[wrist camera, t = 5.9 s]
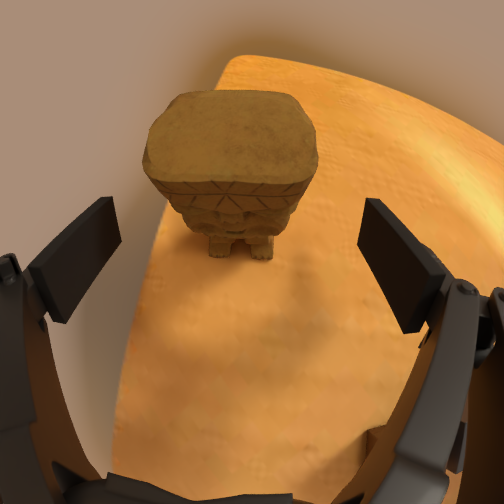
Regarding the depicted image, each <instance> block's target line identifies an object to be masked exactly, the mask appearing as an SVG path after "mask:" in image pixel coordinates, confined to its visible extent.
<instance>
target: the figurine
mask: <svg viewBox="0 0 504 504" xmlns="http://www.w3.org/2000/svg"><path fill="white" fill-rule="evenodd" d="M142 165H143V169H144V172H145V173H146V175H147V176H148V177H149V179H150V180H151V182H152V183H153V184H154V185H155V187H156V188H157V189H158V191H159V192H160V193H161V194H162V195H163V196H165V197H166V198H167V199H168V200H169V202H170V203H171V206H172V207H173V208H174V209H175V211H176V212H178V213H181V214H182V216H183V220H184V221H185V223H186V224H187V226H188V227H189V228H190V229H191V230H192V231H193V232H196V233H203V234H205V235H207V236H210V243H209V256H210V257H215V258H224V257H229V256H230V249H231V243H234V242H235V239H244V241H245V243H246V244H250V246H251V255H252V258H253V259H262V260H268V259H272V258H273V239H274V236H276V235H279V234H280V233H281V232H282V231H283V230H284V229H285V228H286V226H287V224H288V221H289V218H290V214H292V213H293V212H294V211H295V210H296V208H297V205H298V203H299V201H300V199H301V197H302V196H303V194H304V193H305V191H306V189H307V187H308V185H309V184H310V182H311V180H312V178H313V176H314V174H315V172H316V170H317V167H318V152H317V146H316V131H315V128H314V126H313V124H312V121H311V120H310V119H309V117H308V116H307V115H306V113H305V112H304V110H303V108H302V107H301V105H300V104H299V102H298V101H297V100H296V99H295V98H294V97H292V96H291V95H289V94H285V93H280V92H272V91H258V90H210V91H195V92H188V93H184V94H180V95H178V96H177V97H176V98H175V99H174V100H172V101H171V103H170V104H169V106H168V107H167V109H166V110H165V112H164V113H163V114H161V115H160V116H159V117H158V118H157V119H156V120H155V121H154V123H153V124H152V126H151V128H150V129H149V134H148V140H147V143H146V147H145V151H144V155H143V160H142Z"/></svg>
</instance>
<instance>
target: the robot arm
mask: <svg viewBox="0 0 504 504" xmlns="http://www.w3.org/2000/svg"><path fill="white" fill-rule="evenodd" d="M121 242H122V240H121V236H120V231H119V227H118V222H117V217H116V212H115V207H114V202H113V197H112V196H111V197H101V198H99V199H98V200H97V201H96V202H94V203H93V204H92V205H91V206H90V207H88V208H87V209H86V210H85V211H84V212H83V213H82V214H80V215H79V216H78V217H77V218H76V219H75V220H74V221H73V222H71V223H70V224H69V225H68V226H67V227H66V228H65V229H64V230H63V231H62V232H61V233H60V234H59V235H58V236H56V237H55V238H54V239H53V240H52V241H51V242H50V243H49V244H48V245H47V246H46V247H45V248H44V249H43V250H42V251H41V252H40V253H39V254H38V255H37V257H36V258H35V259H34V260H33V261H32V262H31V263H30V264H29V265H28V266H27V268H26V269H25V270H24V271H23V272H22V271H21V268H20V266H19V264H18V261H17V258H16V256H15V254H13V253H9V254H6V255H3V256H1V257H0V504H313V503H310V502H306V501H302V500H296V499H293V495H292V493H288V494H243V495H237V496H232V497H225V498H218V499H211V500H202V501H192V500H188V499H186V498H183V497H180V496H178V495H175V494H173V493H170V492H168V491H166V490H163V489H161V488H159V487H156V486H154V485H152V484H150V483H148V482H143V481H139V480H135V479H131V478H127V477H124V476H120V475H116V474H113V473H110V472H108V474H107V478H106V479H102V478H101V477H100V475H99V474H98V472H97V471H96V470H95V468H94V467H93V466H92V465H91V464H90V462H89V461H88V459H87V458H86V456H85V453H84V451H83V449H82V446H81V444H80V441H79V439H78V437H77V434H76V432H75V429H74V426H73V423H72V420H71V418H70V415H69V412H68V409H67V406H66V403H65V399H64V396H63V393H62V389H61V386H60V382H59V378H58V375H57V371H56V367H55V362H54V359H53V353H52V349H51V344H50V338H49V334H48V327H47V323H46V320H45V319H44V317H43V316H44V315H45V314H46V312H47V311H48V313H49V315H50V317H51V319H52V320H53V322H58V323H63V324H66V323H67V322H68V320H69V318H70V317H71V315H72V313H73V312H74V310H75V309H76V307H77V305H78V304H79V302H80V301H81V299H82V298H83V296H84V295H85V293H86V291H87V290H88V289H89V287H90V286H91V284H92V282H93V281H94V280H95V278H96V277H97V275H98V274H99V272H100V271H101V270H102V268H103V267H104V265H105V264H106V262H107V261H108V260H109V258H110V257H111V256H112V254H113V253H114V251H115V250H116V249H117V247H118V246H119V245H120V243H121ZM357 246H358V247H359V249H360V251H361V253H362V254H363V256H364V258H365V260H366V262H367V263H368V265H369V267H370V269H371V271H372V272H373V274H374V276H375V278H376V280H377V282H378V284H379V286H380V287H381V289H382V291H383V293H384V295H385V297H386V299H387V301H388V303H389V305H390V307H391V309H392V311H393V313H394V315H395V317H396V319H397V321H398V324H399V326H400V328H401V330H402V332H403V334H409V333H417V332H420V330H421V328H422V326H423V324H424V322H425V321H426V322H427V324H428V326H429V329H428V331H427V333H426V334H425V336H424V338H423V340H422V342H421V343H420V345H419V347H418V348H421V349H420V351H419V354H418V356H417V359H416V362H415V364H414V367H413V369H412V371H411V374H410V376H409V379H408V381H407V383H406V385H405V388H404V390H403V392H402V394H401V396H400V398H399V400H398V403H397V405H396V407H395V409H394V411H393V413H392V415H391V416H390V418H389V420H388V422H387V424H386V426H385V428H384V430H383V431H382V433H381V435H380V437H379V438H378V440H377V442H376V444H375V445H374V447H373V449H372V450H371V452H370V454H369V455H368V457H367V458H366V460H365V461H364V463H363V465H362V466H361V468H360V469H359V471H358V472H357V474H356V475H355V476H354V478H353V479H352V480H351V482H350V483H349V484H348V485H347V486H346V487H345V488H344V489H343V490H342V491H341V492H340V493H339V494H338V496H337V497H336V498H335V499H334V500H333V502H332V503H331V504H441V503H442V501H443V499H444V496H445V494H446V492H447V489H448V486H449V476H447V475H446V474H445V473H444V469H445V466H446V463H447V460H448V458H449V455H450V452H451V450H452V447H453V444H454V441H455V438H456V435H457V432H458V428H459V425H460V422H461V418H462V415H463V411H464V407H465V403H466V399H467V394H468V421H467V438H466V449H465V458H464V465H463V472H462V478H461V484H460V489H459V494H458V499H457V503H456V504H504V289H503V288H500V287H496V288H494V290H493V291H492V293H491V295H490V297H486V296H481V295H480V294H479V291H478V290H477V288H476V287H475V286H474V285H473V284H471V283H470V282H468V281H466V280H463V279H455V278H454V276H453V275H452V274H451V273H450V271H449V270H448V269H447V268H446V267H445V265H444V264H443V263H442V262H441V261H440V259H439V258H437V256H436V255H435V254H434V252H433V251H432V250H431V249H430V248H428V247H427V246H425V245H424V244H422V243H420V242H419V241H418V239H417V238H416V237H415V236H414V235H413V234H412V233H411V232H410V231H409V229H408V228H407V227H406V226H405V225H404V224H403V223H402V222H401V221H400V220H399V219H398V218H397V217H396V216H395V214H394V213H393V212H392V211H391V210H390V209H389V208H388V207H387V206H386V205H385V204H384V203H383V202H382V201H381V200H380V199H375V198H366V201H365V206H364V212H363V217H362V223H361V228H360V233H359V238H358V242H357ZM495 341H496V342H495ZM494 342H495V345H493V344H494Z"/></svg>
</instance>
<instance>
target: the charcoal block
mask: <svg viewBox="0 0 504 504" xmlns="http://www.w3.org/2000/svg"><path fill="white" fill-rule="evenodd" d="M467 421H468V394H467V399H466V403H465V407H464V411H463V415H462V418H461V422H460V425H459V428H458V432H457V435H456V438H455V441H454V444H453V447H452V450H451V452H450V455H449V458H448V463H447V468H446V469H448V470H450V471H451V472H453V473H454V474H458V473H459V472H461V471H463V465H464V458H465V449H466V438H467Z"/></svg>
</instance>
